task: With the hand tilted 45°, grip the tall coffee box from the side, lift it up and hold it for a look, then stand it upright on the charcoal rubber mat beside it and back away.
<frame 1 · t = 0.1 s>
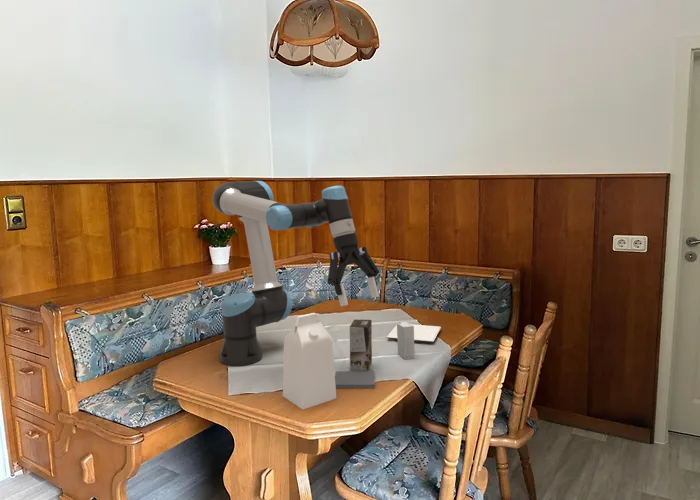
hand: (360, 301, 169), 28 cm above the table, tool tilted 20°, fingers open, 13 cm apart
skincare box: (405, 356, 199), on the table
milk: (309, 397, 166), on the table
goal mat: (354, 381, 178), on the table
plate: (414, 336, 222), on the table
coffee box: (361, 368, 189), on the table
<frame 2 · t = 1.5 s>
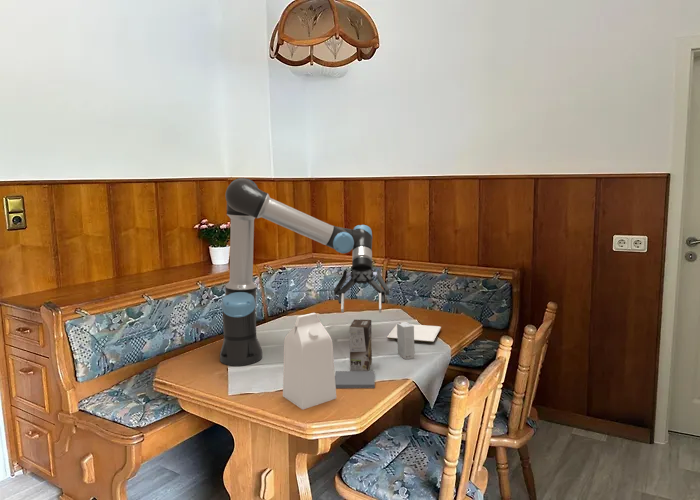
hand: (361, 310, 195), 18 cm above the table, tool tilted 45°, fingers open, 13 cm apart
nothing on the table moved.
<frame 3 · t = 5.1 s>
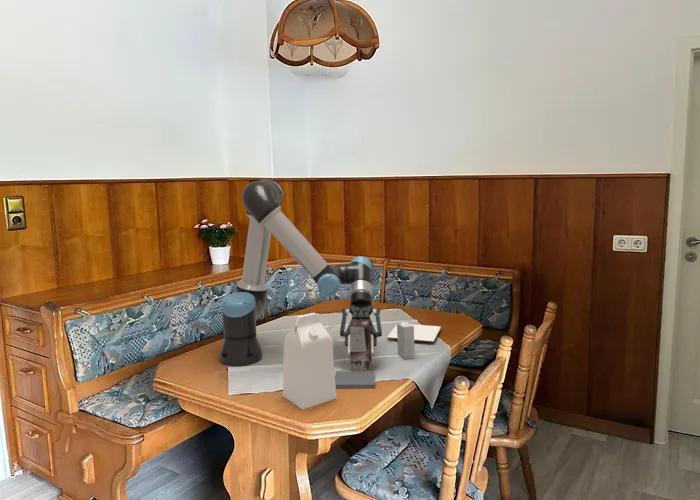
hand: (360, 354, 184), 6 cm above the table, tool tilted 45°, fingers closed on coffee box, 7 cm apart
coffee box: (361, 368, 189), on the table, touching gripper
everything else where it was.
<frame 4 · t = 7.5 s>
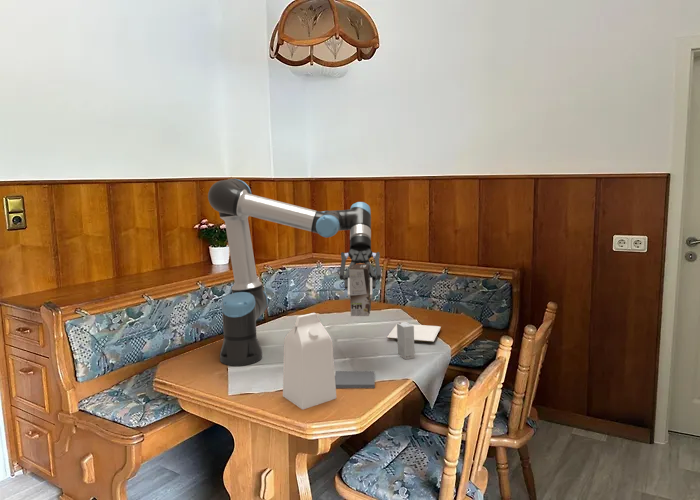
hand: (360, 296, 181), 26 cm above the table, tool tilted 45°, fingers closed on coffee box, 7 cm apart
coffee box: (361, 313, 186), point 19 cm above the table, touching gripper
everything else where it was.
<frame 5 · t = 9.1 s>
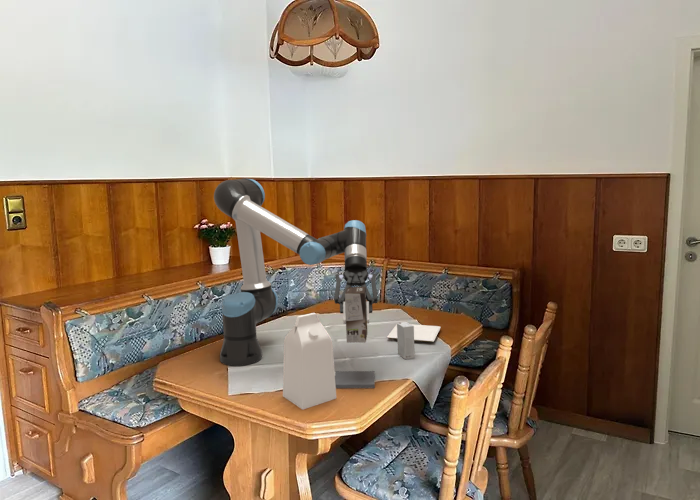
hand: (356, 321, 172), 21 cm above the table, tool tilted 45°, fingers closed on coffee box, 7 cm apart
coffee box: (357, 338, 176), point 14 cm above the table, touching gripper
everything else where it was.
when the fingers open (9 cm above the table, at t = 12.3 s): coffee box stays where it is, resting on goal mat.
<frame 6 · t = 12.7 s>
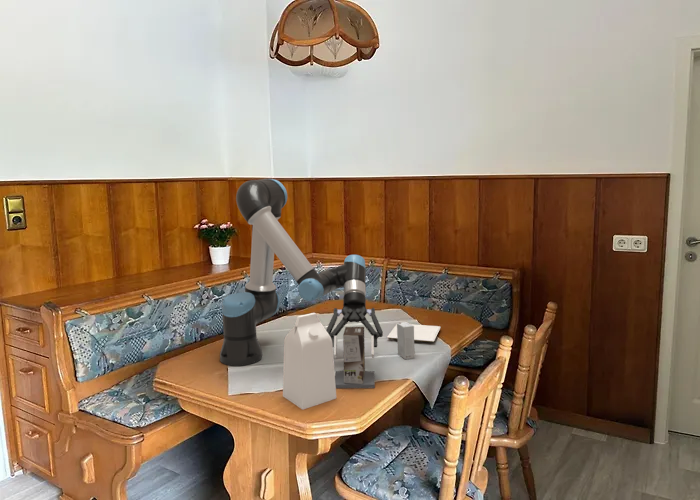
hand: (353, 356, 173), 10 cm above the table, tool tilted 45°, fingers open, 11 cm apart
coffee box: (354, 378, 177), point 1 cm above the table, touching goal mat
everything else where it was.
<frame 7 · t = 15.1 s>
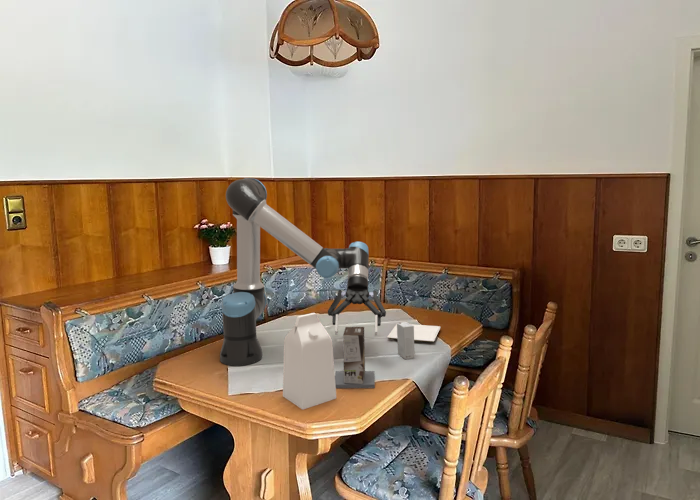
hand: (356, 333, 186), 13 cm above the table, tool tilted 45°, fingers open, 13 cm apart
nothing on the table moved.
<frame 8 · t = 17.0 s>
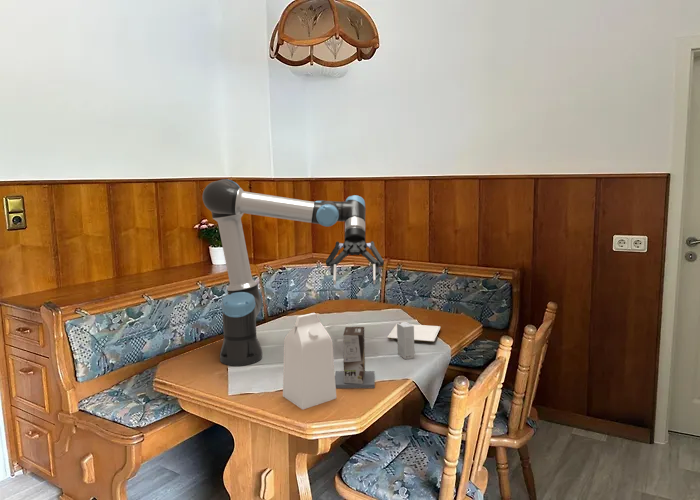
hand: (354, 282, 187), 30 cm above the table, tool tilted 45°, fingers open, 13 cm apart
nothing on the table moved.
at the end: coffee box inside the target area on the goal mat (0.3 cm from its centre), point 1.0 cm above the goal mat's base; coffee box tilted 0°; the gripper is holding nothing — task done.
